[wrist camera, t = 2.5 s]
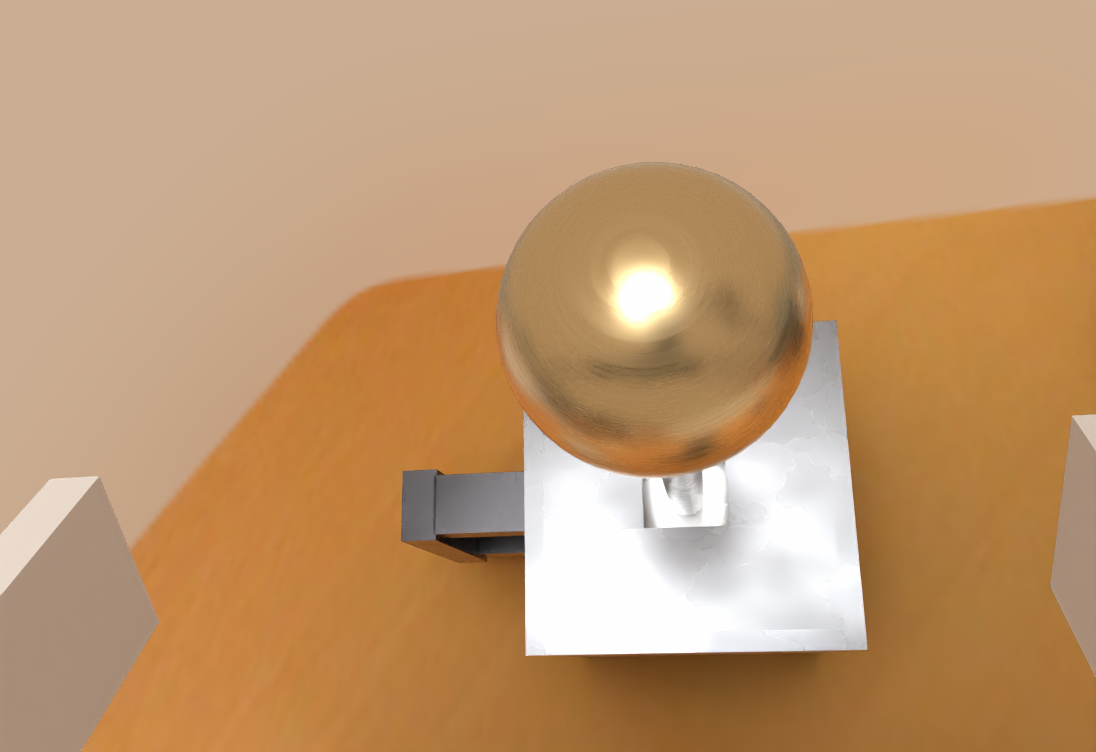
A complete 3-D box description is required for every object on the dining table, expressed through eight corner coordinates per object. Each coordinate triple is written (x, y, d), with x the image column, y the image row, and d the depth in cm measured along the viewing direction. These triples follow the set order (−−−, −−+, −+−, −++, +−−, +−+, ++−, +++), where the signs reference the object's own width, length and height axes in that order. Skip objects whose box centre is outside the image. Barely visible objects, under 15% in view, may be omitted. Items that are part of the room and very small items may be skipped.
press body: (801, 419, 46) (836, 320, 32) (821, 653, 43) (867, 649, 30) (480, 435, 48) (388, 348, 34) (479, 658, 45) (379, 657, 32)
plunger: (798, 380, 35) (913, -21, 15) (818, 619, 33) (986, 549, 12) (567, 393, 37) (368, 38, 16) (573, 624, 34) (349, 569, 14)
